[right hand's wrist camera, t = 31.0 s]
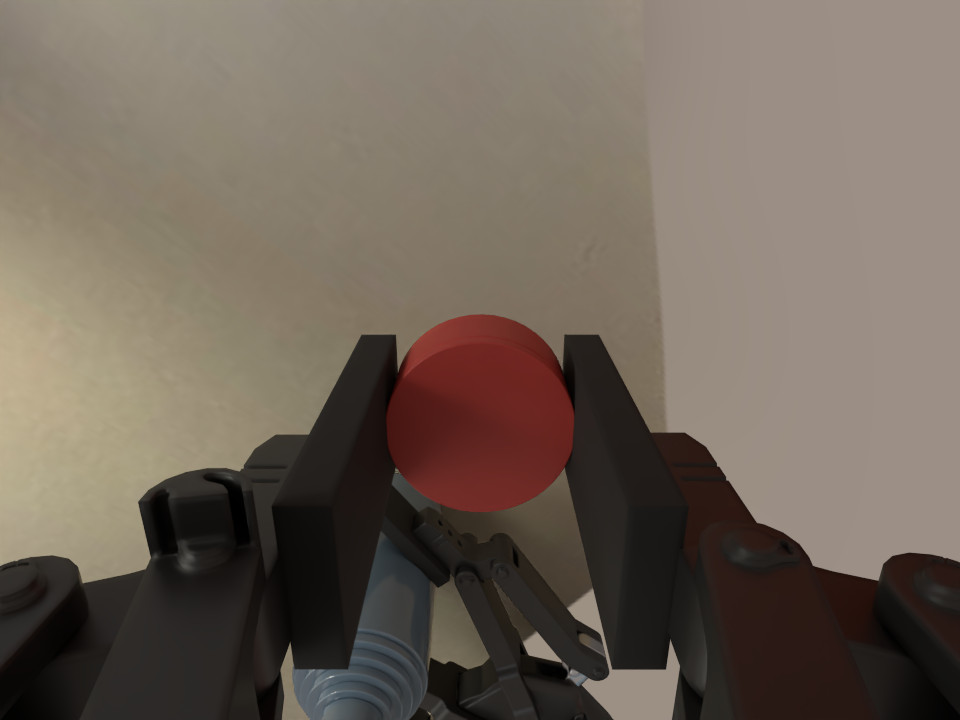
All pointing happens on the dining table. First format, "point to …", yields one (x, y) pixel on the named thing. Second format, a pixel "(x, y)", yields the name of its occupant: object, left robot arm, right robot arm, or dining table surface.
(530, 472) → the cap
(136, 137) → the dining table surface
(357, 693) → the bottle
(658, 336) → the dining table surface
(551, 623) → the left robot arm
